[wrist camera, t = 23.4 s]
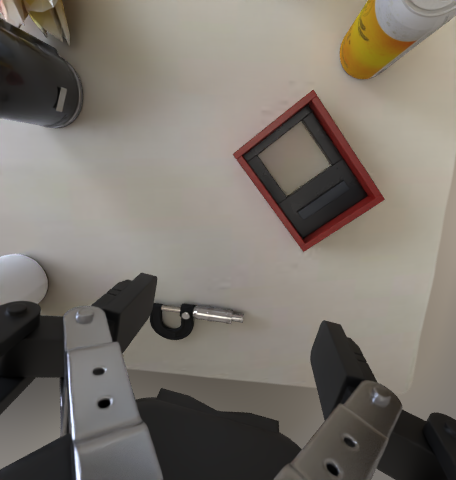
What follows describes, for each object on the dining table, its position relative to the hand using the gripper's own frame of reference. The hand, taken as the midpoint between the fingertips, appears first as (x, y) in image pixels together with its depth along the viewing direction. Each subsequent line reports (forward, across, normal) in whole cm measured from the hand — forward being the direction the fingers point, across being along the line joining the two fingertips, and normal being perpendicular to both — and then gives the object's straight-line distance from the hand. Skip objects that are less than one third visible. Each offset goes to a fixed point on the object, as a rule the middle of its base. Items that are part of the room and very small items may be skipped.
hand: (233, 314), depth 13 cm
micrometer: (+28, +5, +20) cm, 35 cm away
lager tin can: (+28, -8, -22) cm, 37 cm away
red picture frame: (+28, -5, -7) cm, 29 cm away
